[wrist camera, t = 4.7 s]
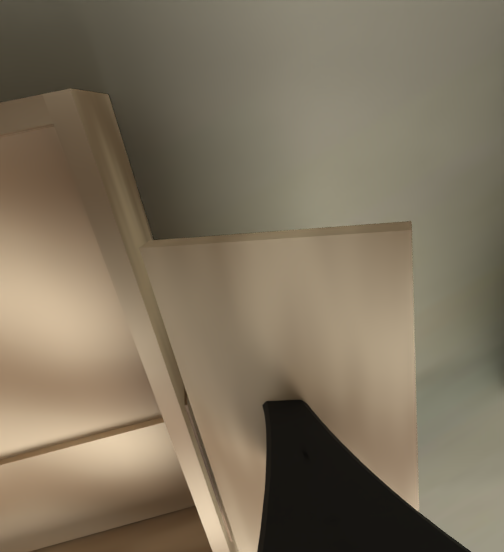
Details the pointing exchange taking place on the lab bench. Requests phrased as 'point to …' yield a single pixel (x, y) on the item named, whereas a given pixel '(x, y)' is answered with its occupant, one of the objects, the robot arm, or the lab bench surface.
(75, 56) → the lab bench surface
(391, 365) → the flap
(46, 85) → the lab bench surface
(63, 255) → the carton
